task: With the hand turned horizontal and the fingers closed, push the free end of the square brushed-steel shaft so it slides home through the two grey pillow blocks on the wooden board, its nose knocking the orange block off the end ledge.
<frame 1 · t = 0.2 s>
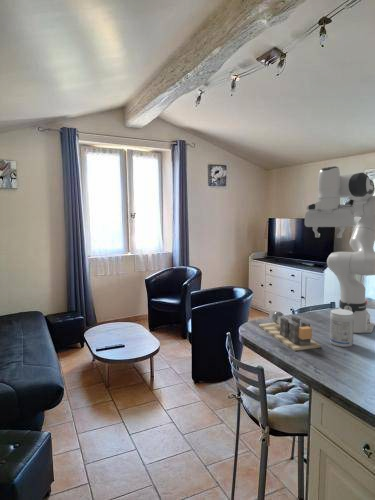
hand: (328, 237, 141), 48 cm above the countertop, tool pointing down, fingers open, 8 cm apart
wooden board: (282, 332, 161), on the countertop
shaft: (283, 320, 160), point 7 cm above the countertop, slide at 0.0 cm
supplement tub: (341, 343, 147), on the countertop
orange block: (305, 337, 142), point 4 cm above the countertop, touching wooden board
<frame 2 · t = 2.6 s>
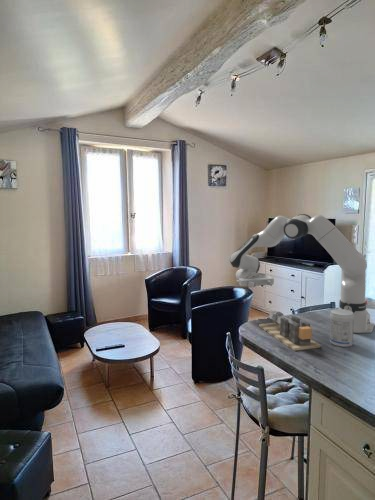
hand: (262, 284, 180), 20 cm above the countertop, tool horizontal, fingers open, 8 cm apart
nothing on the countertop moved.
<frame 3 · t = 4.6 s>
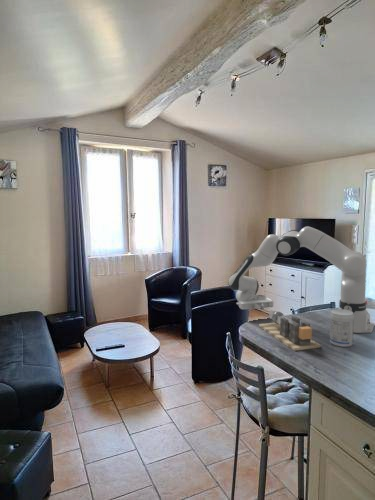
hand: (262, 307, 181), 7 cm above the countertop, tool horizontal, fingers closed
nothing on the countertop moved.
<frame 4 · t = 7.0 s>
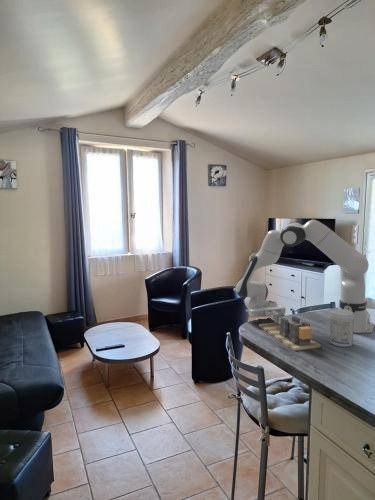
hand: (273, 315, 169), 6 cm above the countertop, tool horizontal, fingers closed, pressing on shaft
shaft: (284, 321, 159), point 7 cm above the countertop, slide at 1.3 cm, touching gripper
everything else where it was.
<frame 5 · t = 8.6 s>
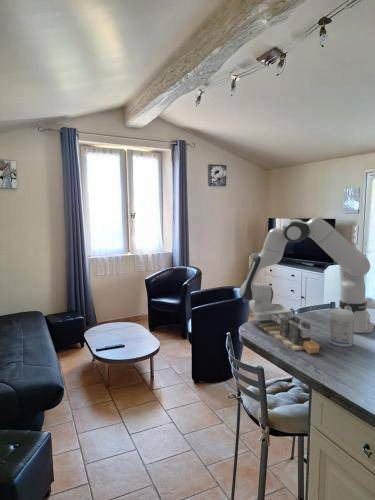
hand: (280, 318, 163), 6 cm above the countertop, tool horizontal, fingers closed, pressing on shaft
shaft: (292, 325, 152), point 7 cm above the countertop, slide at 8.1 cm, touching gripper
orange block: (307, 343, 141), point 3 cm above the countertop, tilted 106°, touching wooden board
everything else where it was.
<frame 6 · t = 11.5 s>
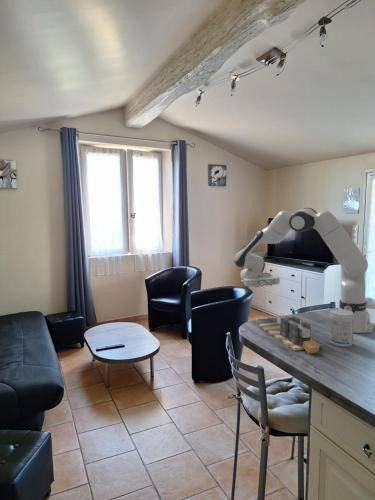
hand: (267, 283, 174), 22 cm above the countertop, tool horizontal, fingers closed
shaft: (292, 325, 152), point 7 cm above the countertop, slide at 8.1 cm
everything else where it was.
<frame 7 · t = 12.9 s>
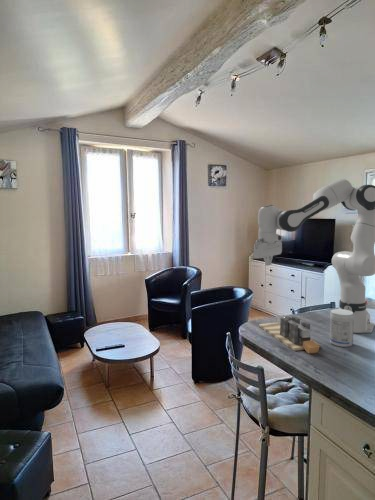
hand: (268, 265, 165), 33 cm above the countertop, tool pointing down, fingers closed
nothing on the countertop moved.
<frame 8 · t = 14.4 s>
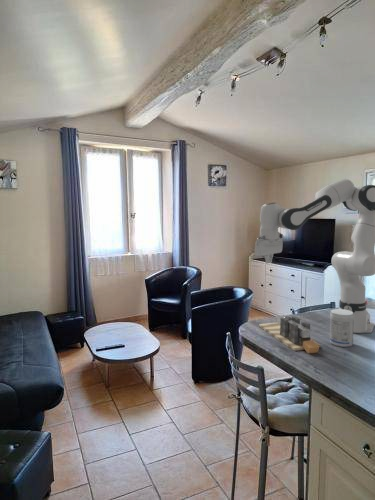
hand: (268, 263, 164), 34 cm above the countertop, tool pointing down, fingers closed
nothing on the countertop moved.
at the end: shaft slide at 8.1 cm; orange block point 2.6 cm above the countertop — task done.
